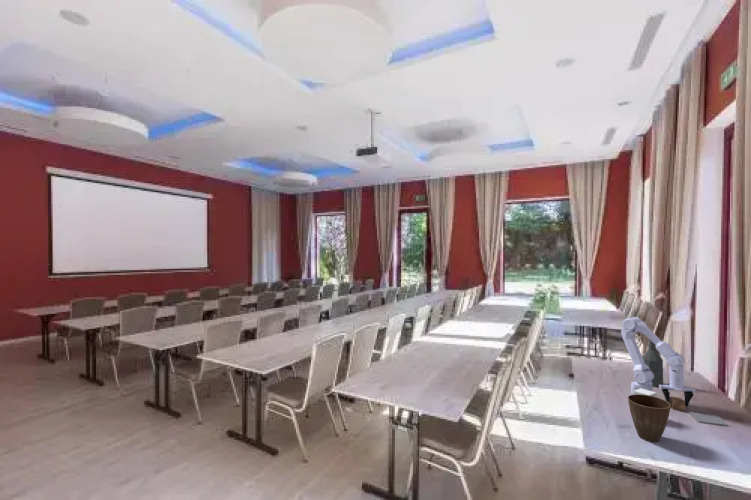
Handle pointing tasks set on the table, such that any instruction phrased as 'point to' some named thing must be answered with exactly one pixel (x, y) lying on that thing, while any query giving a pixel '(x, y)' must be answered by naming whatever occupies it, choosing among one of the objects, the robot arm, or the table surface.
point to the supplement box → (645, 392)
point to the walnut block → (677, 403)
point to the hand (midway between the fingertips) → (677, 404)
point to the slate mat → (708, 419)
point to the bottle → (654, 364)
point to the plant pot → (649, 416)
